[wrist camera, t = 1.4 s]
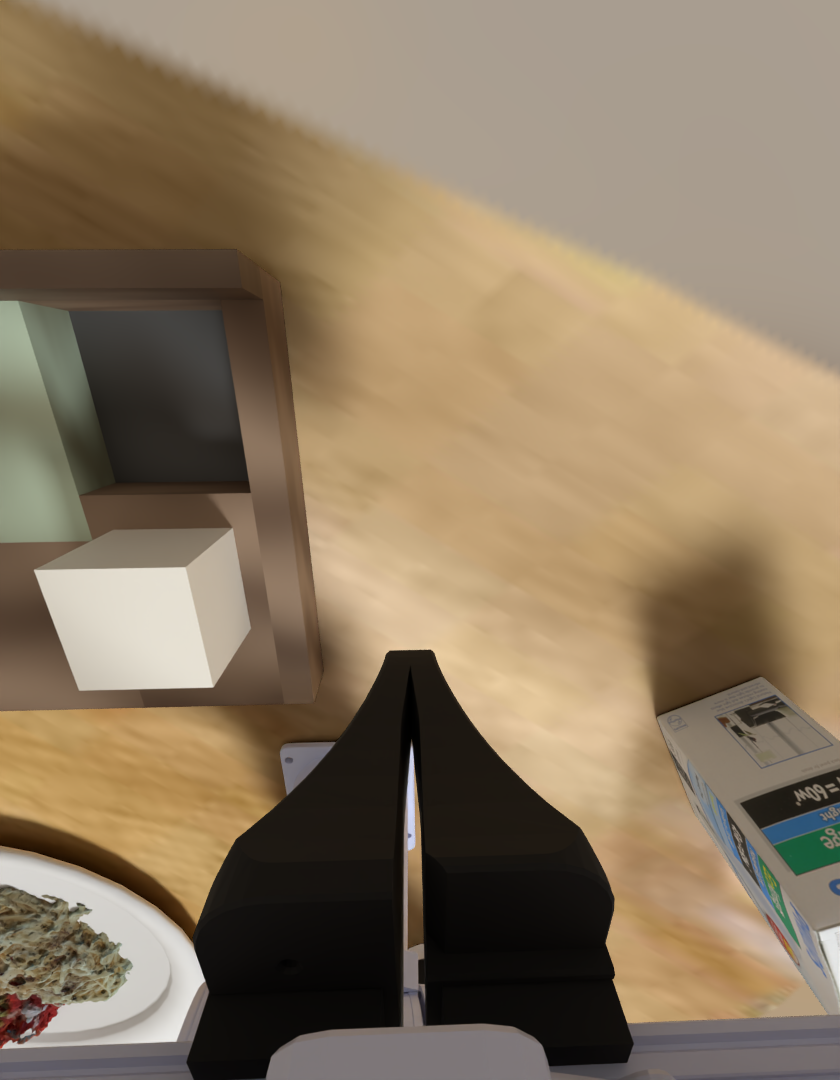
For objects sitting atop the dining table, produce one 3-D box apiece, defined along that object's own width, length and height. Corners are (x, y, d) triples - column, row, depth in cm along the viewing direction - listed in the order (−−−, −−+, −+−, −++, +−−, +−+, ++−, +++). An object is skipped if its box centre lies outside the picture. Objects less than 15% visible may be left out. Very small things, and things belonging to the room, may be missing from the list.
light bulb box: (651, 714, 25) (812, 934, 15) (762, 670, 24) (1013, 874, 14) (695, 819, 29) (850, 1055, 19) (794, 784, 28) (1013, 1014, 18)
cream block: (250, 628, 19) (213, 687, 16) (142, 631, 19) (79, 690, 16) (232, 527, 18) (185, 567, 14) (113, 529, 18) (33, 570, 14)
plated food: (191, 818, 28) (163, 874, 25) (235, 1043, 39) (219, 1101, 35) (-289, 810, 27) (-383, 868, 23) (-106, 1045, 37) (-154, 1106, 34)
